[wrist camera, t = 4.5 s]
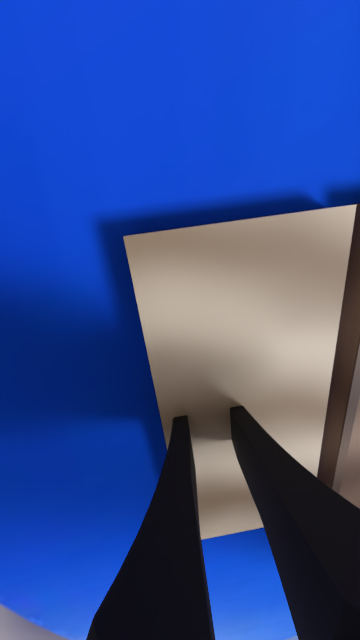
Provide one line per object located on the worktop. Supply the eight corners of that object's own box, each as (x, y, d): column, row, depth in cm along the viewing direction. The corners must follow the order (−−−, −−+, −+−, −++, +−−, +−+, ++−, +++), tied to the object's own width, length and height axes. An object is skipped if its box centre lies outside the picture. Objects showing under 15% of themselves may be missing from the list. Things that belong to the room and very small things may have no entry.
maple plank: (297, 493, 16) (310, 518, 15) (183, 514, 16) (186, 542, 14) (326, 207, 9) (356, 204, 8) (128, 235, 9) (123, 236, 8)
